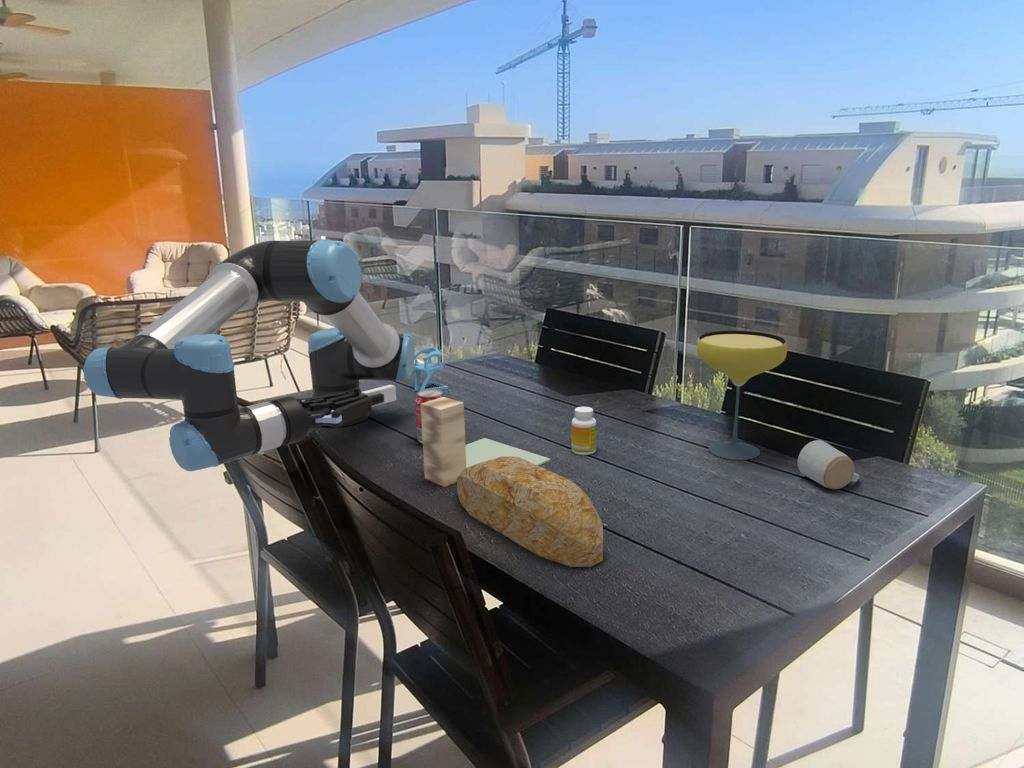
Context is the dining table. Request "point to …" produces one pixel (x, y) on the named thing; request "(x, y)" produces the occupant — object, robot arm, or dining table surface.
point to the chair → (428, 369)
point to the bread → (534, 509)
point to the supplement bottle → (583, 431)
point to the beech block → (443, 440)
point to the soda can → (421, 398)
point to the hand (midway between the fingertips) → (393, 392)
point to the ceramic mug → (826, 465)
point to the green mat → (497, 452)
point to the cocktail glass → (740, 372)
